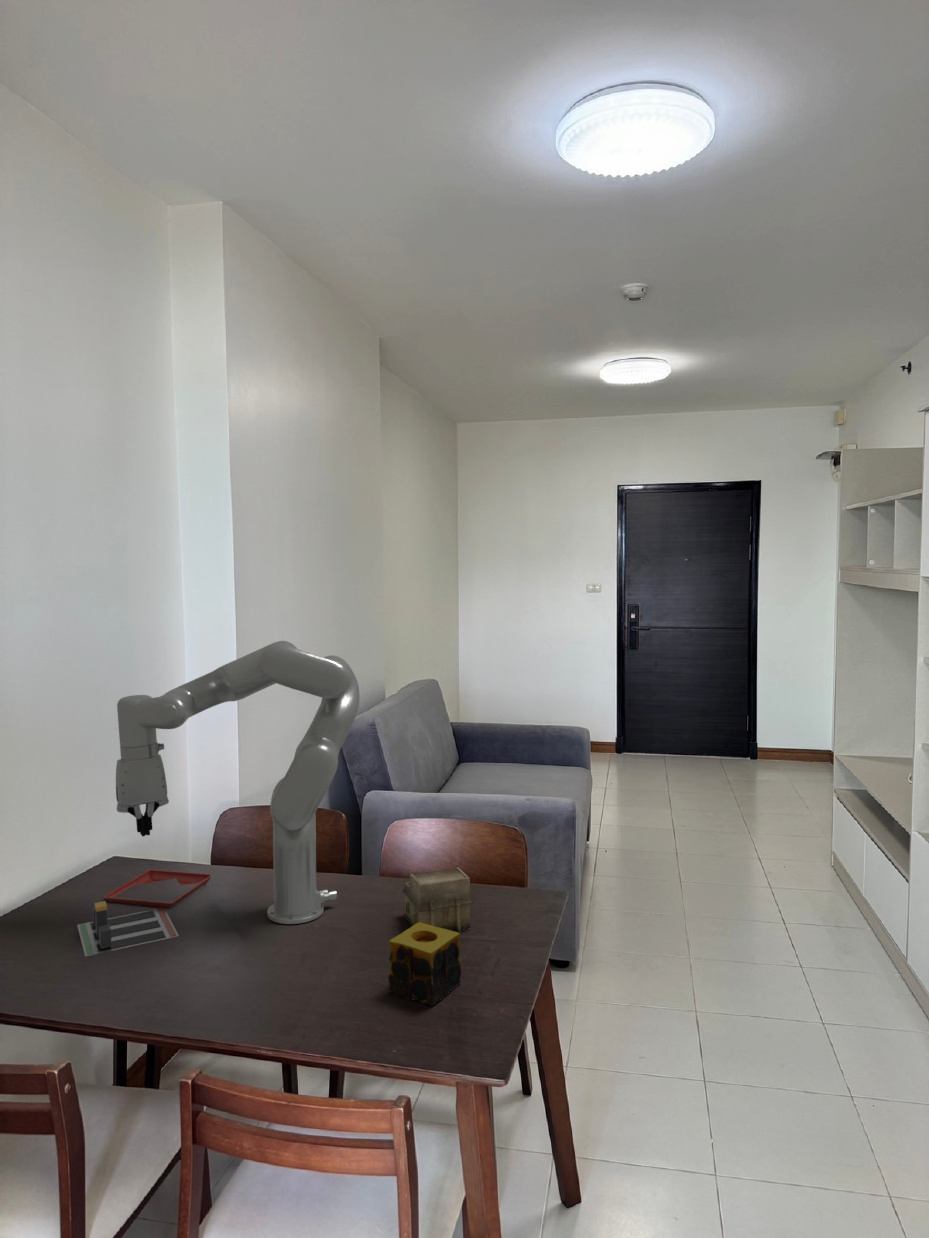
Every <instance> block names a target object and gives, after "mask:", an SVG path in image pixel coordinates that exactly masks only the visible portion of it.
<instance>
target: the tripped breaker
mask: <svg viewBox="0 0 929 1238" xmlns="http://www.w3.org/2000/svg"><path fill="white" fill-rule="evenodd" d="M94 905H95V928H96V935H97V937H99V926H103V925H107V919H108V905H107V902H106V900H102V901H98V902H94ZM94 905H93V906H94Z"/></svg>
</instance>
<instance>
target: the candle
mask: <svg viewBox="0 0 929 1238" xmlns="http://www.w3.org/2000/svg"><path fill="white" fill-rule="evenodd" d="M460 940H461V935H460V933H458V932H454V931H451V930H447V929H443V928H439V927H435V926H432V925H428V924H424V923H420V922H419V923H416V924H415V925H413V926H410V927H409V928H407V929H405V930H404V931H403V932H401V933H400V934H398V935H396V936H395V937H393V938H391V939H389V941H388V944H389V946H388V947H389V959H388V960H389V972H388V973H389V975H388V985H389V986H388V991H389V993H390V992H391V994H393V995H395V994H396V996H399V995H400V996H399V997H401V996H403V997H402V998H404V997H405V999H407V998H408V999H407V1000H410V999H414V1000H419V1001H421V1002H420V1003H422V1002H423V1003H422V1004H424V1003H425V1004H424V1005H426V1004H428V1005H430V1006H429V1007H434V1006H435V1005H436V1004H435V1003H437V1002H438V1001H439V1002H440V999H442V998H443V997H444V996H446V995H447V996H448V995H449V994H448V992H450V991H451V989H453V987H455V986H456V985H459V986H460V984H461V977H462V969H461V967H462V963H461V950H460V947H461V943H460V942H461V941H460ZM459 983H460V984H459ZM453 990H454V989H453ZM451 992H452V991H451ZM451 992H450V993H451ZM447 996H446V997H447ZM444 998H445V997H444ZM444 998H443V999H444ZM443 999H442V1000H443ZM414 1000H413V1001H414ZM419 1001H418V1002H419ZM439 1002H438V1003H439ZM438 1003H437V1004H438ZM434 1004H435V1005H434ZM428 1005H427V1006H428ZM433 1005H434V1006H433Z"/></svg>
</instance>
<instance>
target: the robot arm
mask: <svg viewBox="0 0 929 1238" xmlns="http://www.w3.org/2000/svg"><path fill="white" fill-rule="evenodd" d="M275 684H278V685H280V686H284V687H285V688H289V689H292V690H295V691H299V692H302V693H305V694H308V695H309V694H310V695H312V696H316V697H319V698H321V701H320V704H319V706H318V708H317V711H316V713H315V715H314V717H313V719H312V721H311V723H310V725H309V727H308V729H307V730H306V733H305V734H304V736H303V738H302V739H301V741H300V742H299V744H298V745H297V747H296V749H295V753H294V756H293V760H292V761H291V764H290V766H289V768H288V769H287V771H286V773H285V776H283V778H281V779H280V780H279V781H278V782H277V783H276V785H275V786H274V788H273V790H272V795H271V799H270V805H269V806H270V807H269V810H270V817H271V819H272V835H273V836H272V856H273V861H272V862H273V904H271V905H270V906H269V907H268V908H267V912H266V913H267V914H266V915H267V918H268V919H269V920H270V921H272V922H273V923H278V924H281V925H296V924H298V925H299V924H305V923H308V922H311V921H314V920H316V919H318V918H319V917H321V916H322V915H323V913H324V910H325V909H324V907H325V906H324V903H325V902H326V901H333V900H337V898H338V893H337V891H336V890H330V891H328V888H325V889H321V890H318V889H317V851H316V850H317V827H316V826H317V824H316V822H317V821H316V817H317V815H316V814H317V813H316V812H317V810H318V809H319V806H320V805H321V803H322V801H323V799H324V797H325V795H326V793H327V791H328V789H329V788H330V785H331V784H332V782H333V780H334V777H335V775H336V773H337V769H338V765H339V754H340V751H341V749H342V746H343V745H344V742H345V740H346V739H347V737H348V734H349V733H350V730H351V728H352V726H353V724H354V722H355V720H356V716H357V714H358V710H359V706H360V687H359V682H358V680H357V676H356V675H355V672H354V671H353V669H352V668H351V666H350V665H349V663H348V662H347V661H346V660H345V659H343V657H339V656H338V655H327V656H320V655H316V654H313V653H310V652H307V651H304V650H301V649H299V648H298V647H297V646H295V644H293V643H292V642H291V641H287V640H278V641H274V642H272V643H270V644H268V645H266V646H263V647H261V648H259V649H257V650H254V651H252V652H251V653H248V654H246V655H244V656H242V657H239V658H237V659H235V660H233V661H230V662H228V663H225V664H223V665H222V666H219V667H217V668H215V669H214V670H212V671H210V672H208V673H206V674H204V675H201V676H199V677H197V678H195V679H192V680H190V681H188V682H186V683H183V684H181V685H179V686H177V687H175V688H173V689H170V690H169V691H167V692H165V693H164V694H162V695H160V696H157V697H152V696H150V695H147V694H134V695H133V694H132V695H129V696H123V697H121V698H120V699H118V701H117V703H116V708H117V709H116V710H117V721H118V722H117V723H118V735H119V737H118V739H119V749H120V750H119V752H120V759H119V758H118V759H117V760H116V765H115V766H116V767H115V797H116V802H117V803H116V804H117V805H116V811H117V812H118V813H124V814H125V813H127V814H128V813H129V814H130V815H131V816H133V817H135V821H136V832H137V833H139V834H140V835H141V837H143V838H144V837H146V836H148V837H149V836H150V835H151V831H153V819H152V818H153V815H154V814H155V812H157V810H158V809H159V808H160V807H163V806H166V805H168V804H169V803H170V801H169V800H170V799H169V796H168V785H167V779H166V773H165V767H164V763H163V762H164V761H163V759H162V756H161V754H159V753H160V751H161V750H165V744H164V743H159V742H158V741H157V740H158V739H157V730H158V729H159V730H173V729H177V728H180V727H181V726H183V725H184V724H185V723H186V722H187V720H188V719H190V718H192V717H193V716H195V715H198V714H199V713H202V712H204V711H206V710H208V709H210V708H213V707H216V706H218V705H221V704H223V703H227V702H228V703H229V702H237V701H240V700H243V699H245V698H247V697H250V696H251V695H252V696H253V695H254V694H255V693H258V692H260V691H262V690H264V689H266V688H269V687H271V686H273V685H275ZM142 805H145V810H144V813H142V810H141V807H140V806H142Z"/></svg>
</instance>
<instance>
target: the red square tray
mask: <svg viewBox="0 0 929 1238" xmlns="http://www.w3.org/2000/svg"><path fill="white" fill-rule="evenodd" d="M212 876H213V875H212V874H210V873H200V872H199V873H198V872H185V871H172V870H161V869H160V870H159V869H149V870H148V869H147V870H146V871H144V872H143V873H141V874H140V875H137V876H136V877H135V878H132V879H131V880H129V881H127V882H126V883H124V884H122V885H121V886H119V887H117V888H115V889H113V890H112V891H110V892H109V893H107V894H105V895H104V896H103V897H104V899H105V901H107V902H111V903H120V904H131V905H139V906H150V907H152V906H153V907H160V908H172V907H174V906H175V905H176V904H179V903H180V902H181V901H183V900H184V899H185V898H187V897H188V896H189V895H191V894H193V893H195V892H196V891H197V890H198V889H200V888H201V887H203V886H206V885H207V883H208V882H209V881H210V879H211V878H212ZM172 879H174V880H175V879H176V880H177V882H178V884H179V886H181V887H184V886H188V885H192V884H193V885H194V884H196V885H194V886H193V887H191V888H190V889H188V890H187V891H185V892H184V893H183V894H181V895H180V896H178V897H177V898H175V899H174V900H173V901H169V902H166V901H156V900H147V899H145V900H144V899H133V898H125V897H124V898H121V897H117V896H118V895H120V894H122V893H124V892H126V891H127V890H128V889H130V888H132V887H134V886H135V887H136V886H141V885H147V884H151V883H156V882H162V881H167V880H172Z"/></svg>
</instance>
